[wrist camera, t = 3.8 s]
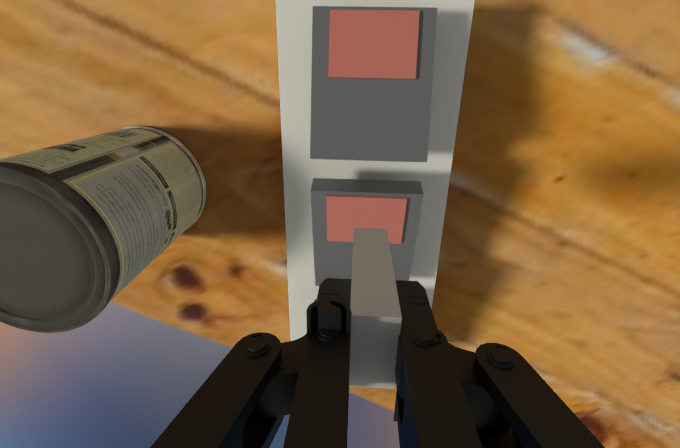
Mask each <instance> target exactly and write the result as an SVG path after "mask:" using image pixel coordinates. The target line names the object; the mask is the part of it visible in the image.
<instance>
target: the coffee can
mask: <svg viewBox="0 0 680 448" xmlns="http://www.w3.org/2000/svg"><path fill="white" fill-rule="evenodd" d="M206 191H207V189H206V182H205V178H204V174H203V172H202V169H201V167H200V165H199V163H198V162H197V160H196V158H195V157H194V155H193V154H192V153H191V152H190V151H189V150H188V149H187V148H186V147H185V146H184V145H183V144H182V143H181V142H180V141H179V140H177V139H176V138H174V137H173V136H171V135H170V134H168V133H166V132H164V131H161V130H158V129H156V128H151V127H146V126H130V127H125V128H121V129H118V130H116V131H113V132H109V133H105V134H100V135H96V136H92V137H88V138H84V139H80V140H76V141H72V142H68V143H64V144H60V145H56V146H52V147H47V148H44V149H40V150H35V151H31V152H28V153H24V154H20V155H16V156H12V157H8V158H4V159H0V322H3V323H5V324H8V325H10V326H14V327H16V328H20V329H25V330H29V331H35V332H44V333H54V332H64V331H69V330H72V329H75V328H78V327H81V326H83V325H85V324H86V323H88V322H90V321H91V320H92V319H94V318H95V317H96V316H97V315H98V314H99V313H100V312H101V311H102V310H103V309H104V308H105V307H106V305H107V304H108V303H109V301H110V300H111V299H112V298H113V297H114V296H115V295H117V294H118V293H119V292H120V291H121V290H122V289H123V288H124V287H125V286H126V285H127V284H128V283H129V282H131V281H132V280H133V279H134V278H135V277H136V276H137V275H138V274H139V273H140V272H141V271H142V270H143V269H145V268H146V267H147V266H148V265H149V264H150V263H151V262H152V261H153V260H154V259H155V258H156V257H157V256H159V255H160V254H161V253H162V252H163V251H164V250H165V249H166V248H167V247H168V246H169V245H170V244H171V243H172V242H173V241H175V240H176V239H177V238H178V237H179V236H180V235H181V234H182V233H183V232H184V231H185V230H186V229H188V228H190V227H191V226H192V225H193V224H194V223H195V222H196V221H197V220H198V218H199V217H200V215H201V214H202V212H203V209H204V206H205V203H206V196H207V194H206Z"/></svg>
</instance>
